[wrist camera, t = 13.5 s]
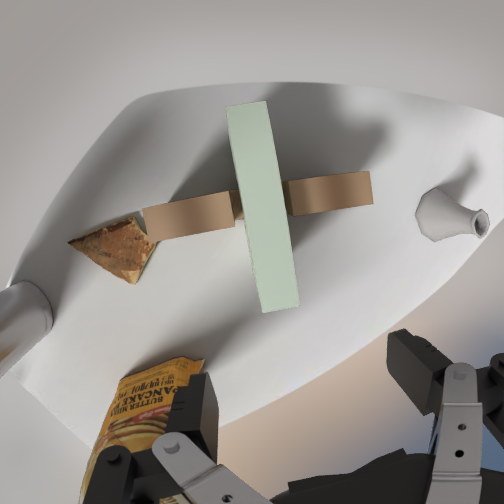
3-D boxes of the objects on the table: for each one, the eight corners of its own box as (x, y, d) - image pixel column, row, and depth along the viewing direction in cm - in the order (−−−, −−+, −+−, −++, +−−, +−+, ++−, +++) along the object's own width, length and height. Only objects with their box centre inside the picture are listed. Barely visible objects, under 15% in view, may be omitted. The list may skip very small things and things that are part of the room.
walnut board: (172, 227, 34) (149, 243, 25) (167, 202, 34) (142, 208, 24) (337, 199, 35) (373, 204, 25) (333, 174, 34) (369, 170, 24)
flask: (406, 214, 36) (452, 224, 26) (434, 178, 35) (482, 179, 25) (432, 250, 37) (478, 267, 27) (458, 214, 36) (504, 223, 26)
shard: (72, 240, 34) (65, 243, 33) (95, 189, 33) (89, 189, 32) (137, 284, 36) (132, 288, 34) (164, 233, 35) (160, 235, 33)
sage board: (228, 136, 33) (225, 106, 20) (254, 132, 33) (265, 100, 20) (252, 269, 36) (262, 313, 23) (277, 265, 36) (299, 305, 23)
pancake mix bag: (229, 378, 39) (231, 567, 12) (127, 413, 40) (75, 554, 13) (205, 341, 38) (177, 544, 10) (102, 382, 39) (26, 523, 11)
